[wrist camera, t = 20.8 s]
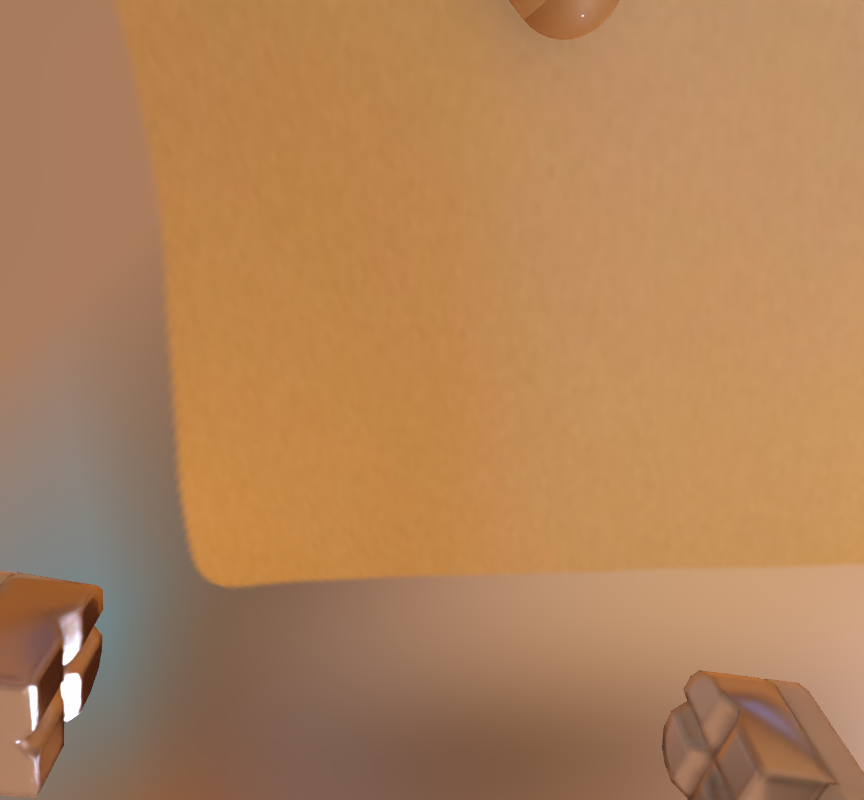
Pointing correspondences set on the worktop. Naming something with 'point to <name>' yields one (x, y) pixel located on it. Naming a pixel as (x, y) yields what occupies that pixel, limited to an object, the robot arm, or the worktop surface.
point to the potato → (564, 16)
